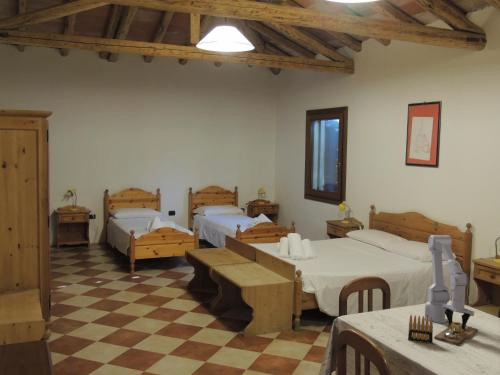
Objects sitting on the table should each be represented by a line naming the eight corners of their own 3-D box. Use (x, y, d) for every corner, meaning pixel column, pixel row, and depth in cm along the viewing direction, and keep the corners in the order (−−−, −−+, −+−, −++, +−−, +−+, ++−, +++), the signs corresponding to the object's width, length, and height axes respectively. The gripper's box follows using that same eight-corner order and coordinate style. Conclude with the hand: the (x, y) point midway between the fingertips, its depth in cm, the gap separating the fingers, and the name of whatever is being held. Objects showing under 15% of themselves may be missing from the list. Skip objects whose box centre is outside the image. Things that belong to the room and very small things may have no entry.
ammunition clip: (432, 341, 231) (433, 316, 230) (432, 343, 230) (433, 317, 229) (408, 338, 235) (409, 313, 234) (407, 340, 233) (408, 315, 232)
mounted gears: (442, 336, 234) (442, 329, 234) (459, 325, 249) (459, 319, 248) (453, 340, 231) (454, 333, 230) (470, 328, 245) (470, 322, 244)
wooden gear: (453, 326, 243) (453, 320, 243) (465, 329, 240) (465, 323, 239) (448, 330, 239) (448, 323, 239) (460, 333, 235) (460, 326, 235)
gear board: (434, 338, 235) (434, 336, 235) (455, 325, 252) (455, 323, 252) (457, 345, 227) (458, 342, 227) (477, 331, 244) (478, 328, 244)
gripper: (439, 297, 240) (438, 325, 241) (470, 304, 230) (469, 333, 231) (445, 294, 245) (444, 321, 246) (476, 301, 235) (475, 329, 236)
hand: (456, 327), depth 239 cm, fingers closed on wooden gear, 5 cm apart
